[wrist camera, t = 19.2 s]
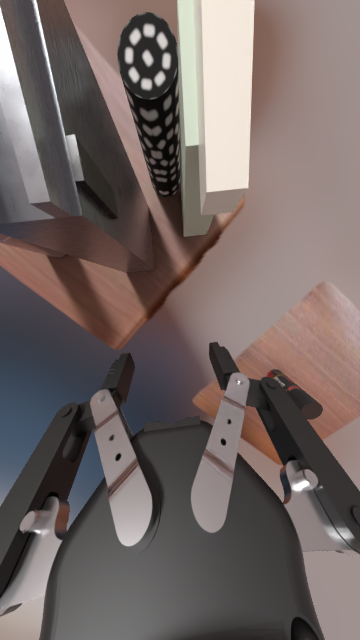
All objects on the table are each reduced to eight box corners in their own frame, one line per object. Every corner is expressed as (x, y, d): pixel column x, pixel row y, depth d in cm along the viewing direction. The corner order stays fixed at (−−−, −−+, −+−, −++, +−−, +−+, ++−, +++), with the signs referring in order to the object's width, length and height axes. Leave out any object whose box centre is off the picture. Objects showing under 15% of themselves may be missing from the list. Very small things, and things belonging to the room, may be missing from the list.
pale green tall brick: (183, 236, 40) (185, 146, 15) (180, 190, 38) (176, -14, 12) (206, 234, 40) (246, 138, 15) (204, 188, 37) (251, -27, 12)
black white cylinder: (186, 182, 37) (190, 64, 18) (164, 203, 38) (145, 115, 19) (168, 154, 36) (151, -8, 16) (145, 177, 37) (105, 51, 18)
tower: (126, 272, 43) (-64, 214, 10) (115, 210, 39) (-260, -240, 6) (158, 269, 43) (72, 198, 10) (150, 206, 39) (-40, -299, 6)
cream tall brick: (201, 215, 16) (206, 192, 13) (189, -105, 11) (192, -318, 7) (232, 212, 16) (248, 187, 12) (236, -115, 11) (265, -338, 7)
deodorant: (278, 384, 51) (316, 421, 37) (264, 380, 51) (297, 417, 37) (284, 371, 50) (326, 404, 36) (270, 368, 50) (306, 400, 35)
